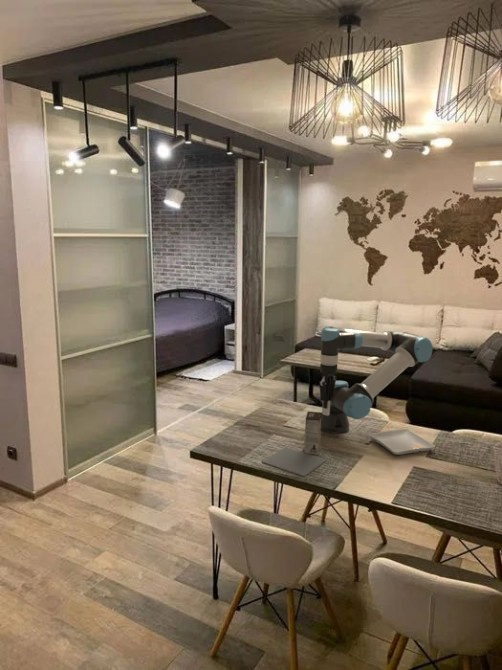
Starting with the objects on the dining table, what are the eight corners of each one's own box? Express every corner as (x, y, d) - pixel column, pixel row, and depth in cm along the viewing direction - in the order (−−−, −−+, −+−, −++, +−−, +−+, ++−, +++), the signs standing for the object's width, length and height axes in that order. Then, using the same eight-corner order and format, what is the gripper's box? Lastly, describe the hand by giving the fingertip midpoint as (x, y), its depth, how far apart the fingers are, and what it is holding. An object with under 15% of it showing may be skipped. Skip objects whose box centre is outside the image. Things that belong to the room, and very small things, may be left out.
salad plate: (394, 459, 212) (395, 451, 211) (367, 440, 232) (367, 433, 231) (436, 453, 219) (436, 445, 218) (406, 435, 239) (406, 428, 238)
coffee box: (306, 445, 224) (307, 410, 221) (320, 446, 223) (322, 412, 219) (303, 453, 215) (305, 418, 212) (319, 455, 214) (320, 419, 211)
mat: (285, 448, 220) (285, 447, 220) (326, 460, 208) (326, 459, 208) (262, 462, 205) (262, 461, 205) (304, 476, 194) (304, 475, 194)
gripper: (328, 359, 228) (325, 409, 233) (314, 364, 218) (311, 416, 222) (343, 362, 224) (340, 412, 228) (329, 367, 214) (326, 420, 218)
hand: (326, 414), depth 225 cm, fingers closed
